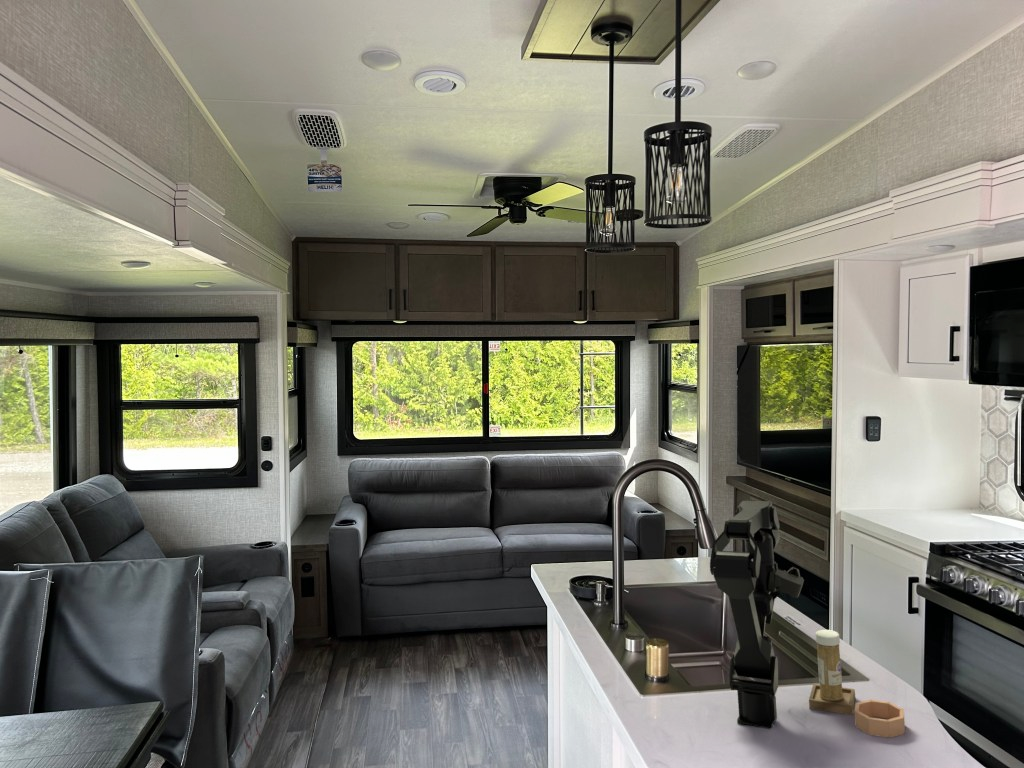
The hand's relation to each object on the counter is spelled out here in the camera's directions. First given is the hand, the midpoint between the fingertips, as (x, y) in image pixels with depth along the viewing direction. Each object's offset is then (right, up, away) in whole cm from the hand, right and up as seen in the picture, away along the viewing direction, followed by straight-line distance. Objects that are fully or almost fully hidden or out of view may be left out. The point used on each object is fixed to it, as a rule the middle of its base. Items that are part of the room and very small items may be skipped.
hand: (764, 630), depth 161 cm
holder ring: (+16, -12, -18) cm, 27 cm away
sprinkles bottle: (+11, -11, -8) cm, 18 cm away
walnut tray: (+11, -12, -8) cm, 18 cm away
